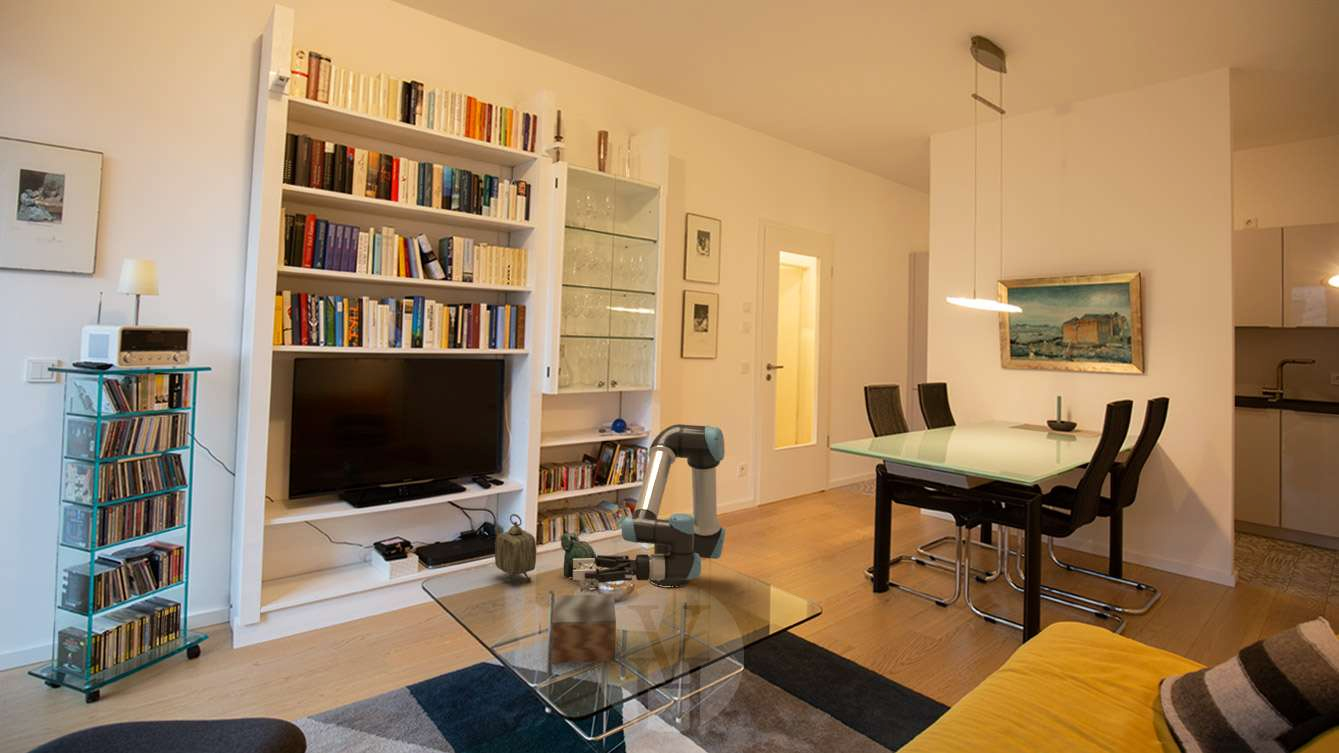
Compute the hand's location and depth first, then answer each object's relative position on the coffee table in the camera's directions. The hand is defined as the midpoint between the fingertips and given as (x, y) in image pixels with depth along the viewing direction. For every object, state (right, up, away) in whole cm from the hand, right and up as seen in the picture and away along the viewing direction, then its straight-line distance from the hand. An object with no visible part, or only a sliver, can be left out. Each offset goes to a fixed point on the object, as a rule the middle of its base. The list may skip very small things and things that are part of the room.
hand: (573, 569), depth 190 cm
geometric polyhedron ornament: (+4, -6, 0) cm, 8 cm away
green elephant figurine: (-5, -20, +51) cm, 55 cm away
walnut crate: (+3, -24, +3) cm, 24 cm away
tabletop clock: (-30, -20, +51) cm, 62 cm away
